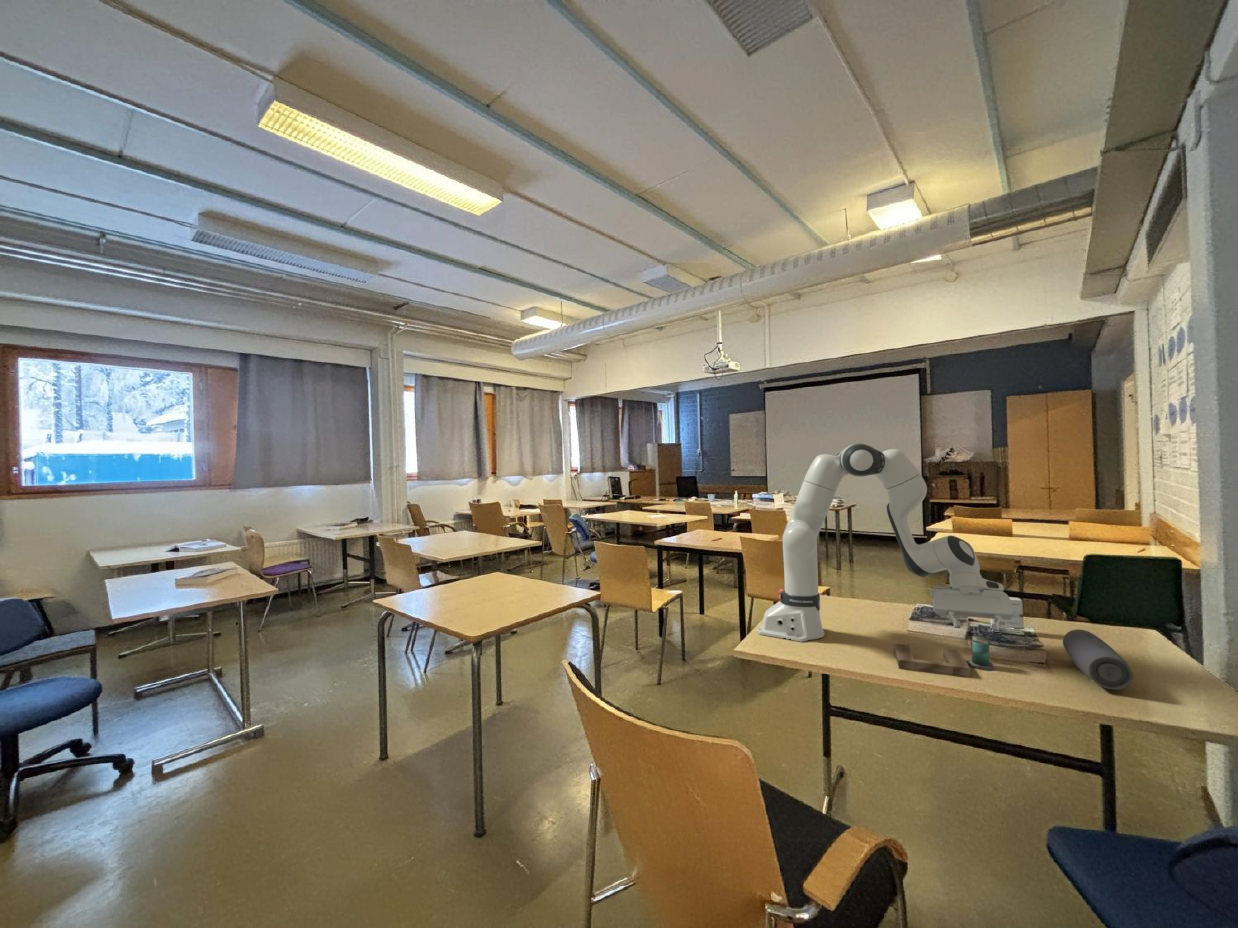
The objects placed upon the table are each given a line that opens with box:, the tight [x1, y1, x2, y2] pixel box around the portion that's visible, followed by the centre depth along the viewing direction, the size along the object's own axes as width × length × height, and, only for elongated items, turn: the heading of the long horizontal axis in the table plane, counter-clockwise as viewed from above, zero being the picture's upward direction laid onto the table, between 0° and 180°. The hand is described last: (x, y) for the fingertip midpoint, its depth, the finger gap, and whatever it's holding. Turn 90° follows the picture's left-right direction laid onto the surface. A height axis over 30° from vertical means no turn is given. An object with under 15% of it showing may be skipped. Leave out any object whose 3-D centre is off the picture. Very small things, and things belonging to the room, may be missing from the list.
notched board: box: [893, 643, 971, 678], centre depth 145 cm, size 17×14×2 cm
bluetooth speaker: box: [1062, 629, 1134, 691], centre depth 133 cm, size 23×9×10 cm, turn 151°
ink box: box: [989, 596, 1025, 630], centre depth 169 cm, size 9×5×12 cm, turn 61°
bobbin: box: [967, 635, 995, 671], centre depth 142 cm, size 6×6×8 cm
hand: (976, 628), depth 146 cm, fingers open, 8 cm apart
